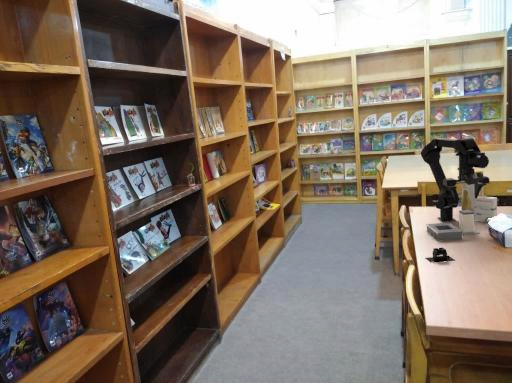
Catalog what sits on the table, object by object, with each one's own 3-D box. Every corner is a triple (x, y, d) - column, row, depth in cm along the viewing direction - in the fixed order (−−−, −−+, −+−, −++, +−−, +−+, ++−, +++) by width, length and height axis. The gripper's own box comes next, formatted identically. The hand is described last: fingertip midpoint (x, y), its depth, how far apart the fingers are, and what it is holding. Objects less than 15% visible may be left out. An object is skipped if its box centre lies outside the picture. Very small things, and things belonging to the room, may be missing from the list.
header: (426, 231, 187) (426, 224, 186) (449, 229, 186) (449, 222, 186) (437, 240, 173) (437, 233, 173) (462, 239, 173) (462, 231, 172)
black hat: (451, 255, 158) (451, 244, 157) (461, 262, 150) (461, 250, 150) (419, 258, 157) (419, 247, 157) (428, 265, 150) (428, 254, 149)
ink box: (497, 220, 193) (498, 196, 190) (493, 223, 190) (493, 199, 187) (478, 218, 199) (478, 195, 197) (473, 220, 196) (474, 197, 194)
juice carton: (458, 213, 210) (459, 168, 205) (471, 211, 212) (472, 166, 207) (472, 217, 201) (472, 170, 196) (485, 215, 203) (486, 168, 198)
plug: (459, 229, 184) (459, 210, 182) (469, 228, 184) (469, 209, 182) (463, 232, 180) (463, 212, 178) (473, 231, 179) (474, 212, 178)
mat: (453, 229, 186) (453, 228, 186) (471, 228, 185) (471, 227, 185) (461, 234, 178) (461, 233, 178) (479, 233, 178) (479, 232, 178)
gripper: (452, 170, 177) (452, 204, 180) (496, 166, 175) (495, 201, 178) (442, 166, 188) (442, 199, 191) (483, 163, 186) (483, 196, 189)
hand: (465, 199), depth 187 cm, fingers open, 9 cm apart
